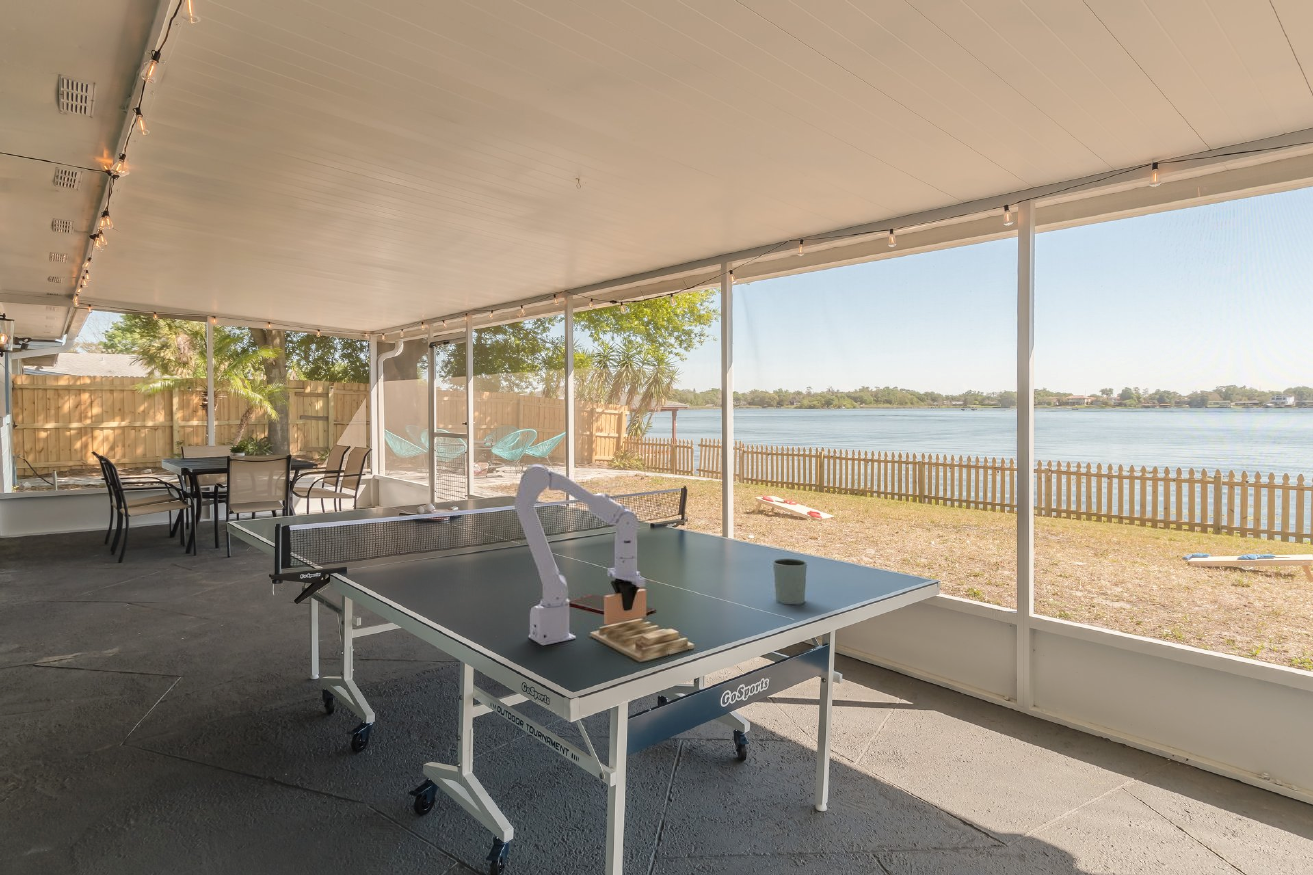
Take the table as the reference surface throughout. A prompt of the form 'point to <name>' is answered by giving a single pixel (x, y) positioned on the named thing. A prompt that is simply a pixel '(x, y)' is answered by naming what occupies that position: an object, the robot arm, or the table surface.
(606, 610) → the upright wooden plank
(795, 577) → the green cup
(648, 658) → the rack
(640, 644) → the offcut lower
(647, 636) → the offcut upper
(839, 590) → the table surface
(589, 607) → the dark red board
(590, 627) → the table surface
